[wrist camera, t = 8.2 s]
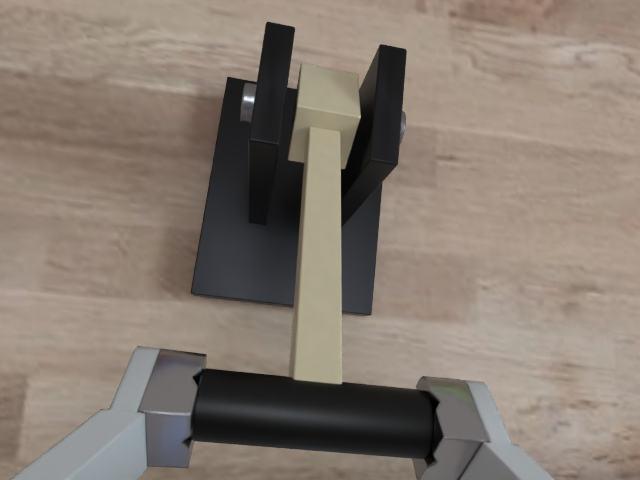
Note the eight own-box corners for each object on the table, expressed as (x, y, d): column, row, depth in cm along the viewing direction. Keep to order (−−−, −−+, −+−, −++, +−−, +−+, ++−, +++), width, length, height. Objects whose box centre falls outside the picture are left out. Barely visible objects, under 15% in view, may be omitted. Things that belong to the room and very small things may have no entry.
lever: (408, 472, 11) (449, 441, 9) (191, 455, 10) (187, 419, 8) (376, 131, 19) (394, 80, 17) (258, 110, 18) (263, 55, 17)
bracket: (364, 316, 27) (464, 303, 14) (193, 295, 26) (141, 261, 13) (382, 116, 30) (477, -39, 17) (228, 89, 28) (212, -99, 16)
